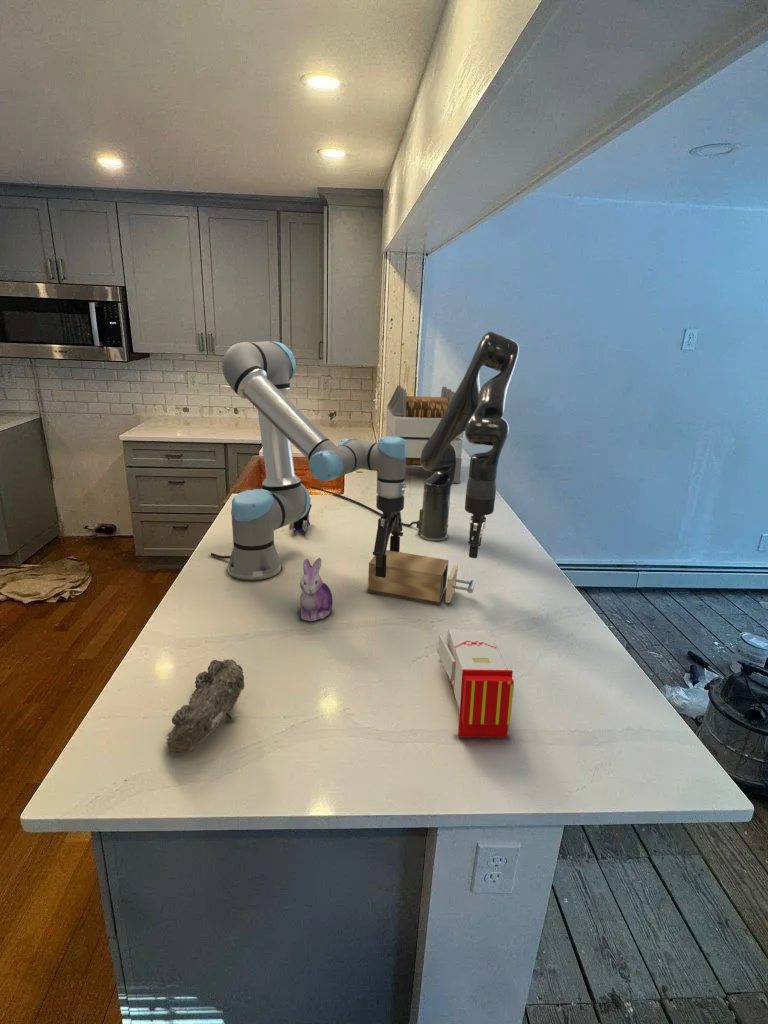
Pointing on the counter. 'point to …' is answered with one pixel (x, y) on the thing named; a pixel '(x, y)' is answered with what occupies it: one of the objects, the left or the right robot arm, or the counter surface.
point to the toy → (478, 682)
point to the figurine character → (301, 523)
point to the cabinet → (409, 577)
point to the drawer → (453, 583)
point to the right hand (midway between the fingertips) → (474, 551)
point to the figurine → (314, 593)
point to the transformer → (419, 423)
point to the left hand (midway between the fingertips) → (387, 566)
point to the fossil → (206, 705)
